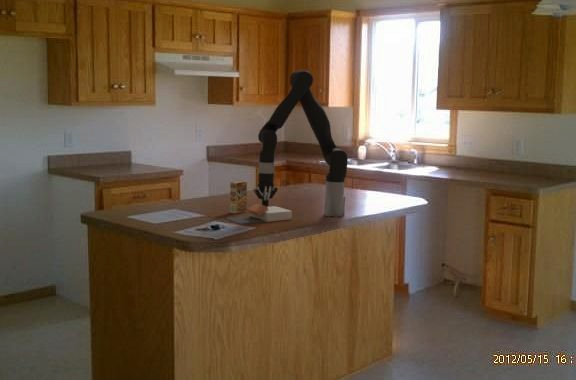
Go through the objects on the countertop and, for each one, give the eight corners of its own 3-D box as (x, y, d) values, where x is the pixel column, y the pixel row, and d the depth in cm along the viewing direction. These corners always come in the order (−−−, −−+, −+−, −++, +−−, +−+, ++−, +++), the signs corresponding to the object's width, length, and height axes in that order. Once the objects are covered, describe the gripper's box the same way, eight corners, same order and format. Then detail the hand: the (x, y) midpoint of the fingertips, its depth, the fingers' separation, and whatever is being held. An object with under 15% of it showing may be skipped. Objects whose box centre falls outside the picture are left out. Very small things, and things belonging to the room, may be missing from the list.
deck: (275, 214, 338) (275, 206, 337) (291, 219, 327) (291, 211, 326) (251, 216, 330) (251, 208, 329) (267, 221, 319) (267, 213, 318)
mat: (250, 216, 329) (250, 215, 329) (266, 221, 318) (266, 221, 318) (225, 218, 321) (225, 218, 321) (240, 224, 310) (240, 223, 310)
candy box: (236, 214, 335) (236, 183, 332) (229, 212, 337) (230, 182, 335) (247, 211, 342) (247, 181, 340) (240, 210, 344) (241, 180, 342)
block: (258, 206, 328) (256, 203, 327) (268, 210, 321) (267, 206, 320) (248, 212, 325) (246, 209, 325) (258, 216, 318) (257, 212, 317)
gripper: (273, 170, 330) (272, 205, 332) (250, 171, 322) (249, 207, 325) (282, 172, 324) (280, 208, 326) (258, 173, 316) (257, 210, 319)
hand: (265, 207), depth 325 cm, fingers closed
